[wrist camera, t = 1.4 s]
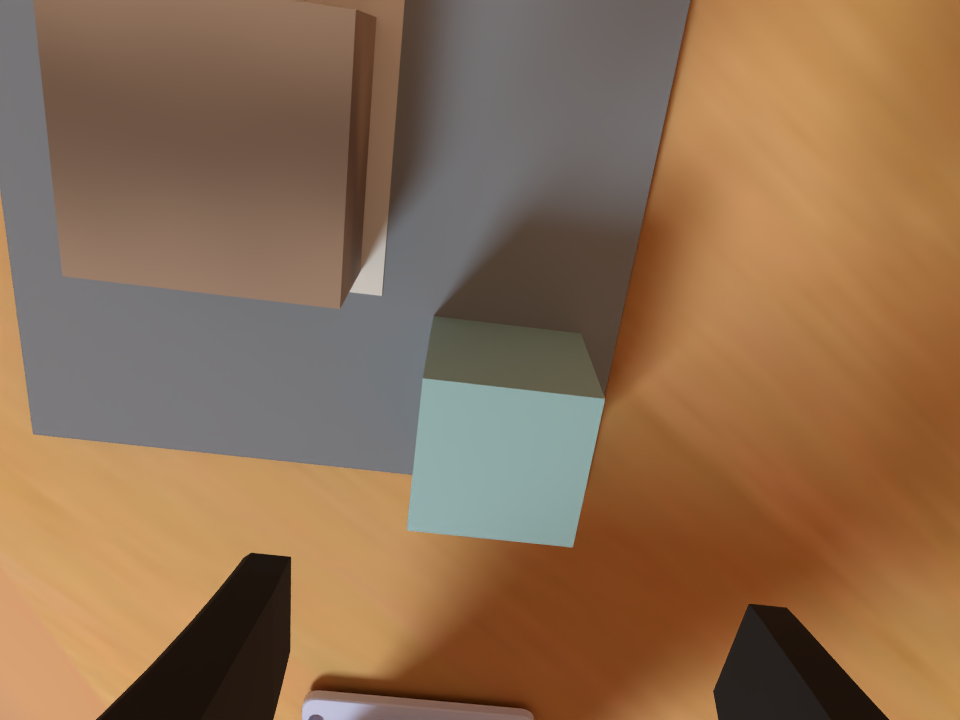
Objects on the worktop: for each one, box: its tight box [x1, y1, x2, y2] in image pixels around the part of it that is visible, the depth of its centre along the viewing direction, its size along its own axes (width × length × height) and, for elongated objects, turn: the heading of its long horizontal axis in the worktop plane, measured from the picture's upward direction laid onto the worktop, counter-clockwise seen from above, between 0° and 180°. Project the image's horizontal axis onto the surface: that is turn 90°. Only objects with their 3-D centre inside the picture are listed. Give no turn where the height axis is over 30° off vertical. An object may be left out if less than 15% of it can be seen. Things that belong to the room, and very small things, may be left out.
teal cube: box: [407, 316, 605, 547], centre depth 18 cm, size 4×4×4 cm
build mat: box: [0, 0, 690, 475], centre depth 18 cm, size 14×16×1 cm
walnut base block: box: [33, 0, 377, 309], centre depth 16 cm, size 6×6×3 cm
